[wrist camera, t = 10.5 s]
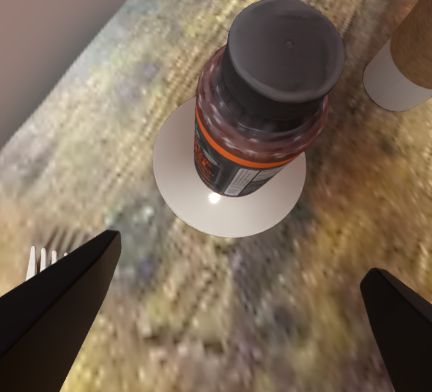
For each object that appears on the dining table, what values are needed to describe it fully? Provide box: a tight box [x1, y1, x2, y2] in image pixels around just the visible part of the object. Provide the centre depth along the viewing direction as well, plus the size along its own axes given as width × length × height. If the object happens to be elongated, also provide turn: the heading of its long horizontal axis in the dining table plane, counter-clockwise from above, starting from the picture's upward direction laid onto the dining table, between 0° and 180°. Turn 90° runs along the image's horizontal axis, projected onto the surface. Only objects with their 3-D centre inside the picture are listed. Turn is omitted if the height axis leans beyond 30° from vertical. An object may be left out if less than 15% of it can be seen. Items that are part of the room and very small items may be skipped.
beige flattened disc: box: [153, 97, 306, 238], centre depth 20 cm, size 12×12×1 cm
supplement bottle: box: [194, 0, 345, 197], centre depth 13 cm, size 6×6×11 cm
